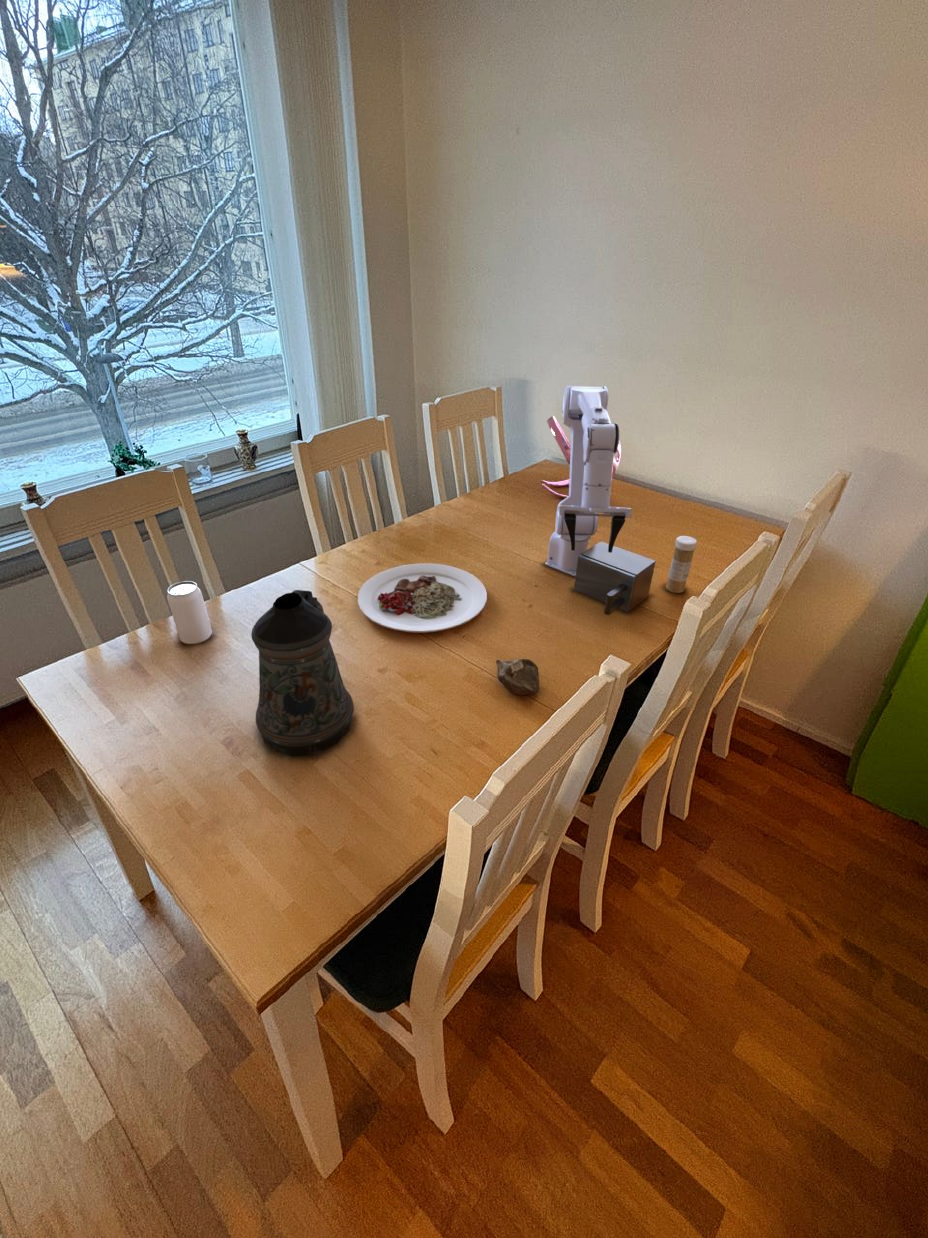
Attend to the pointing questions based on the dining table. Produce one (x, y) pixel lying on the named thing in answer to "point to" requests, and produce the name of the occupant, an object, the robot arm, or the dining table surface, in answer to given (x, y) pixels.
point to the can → (189, 612)
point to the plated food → (422, 597)
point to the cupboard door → (604, 584)
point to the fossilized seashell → (519, 676)
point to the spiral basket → (566, 451)
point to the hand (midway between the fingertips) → (591, 550)
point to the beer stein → (299, 678)
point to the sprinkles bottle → (681, 564)
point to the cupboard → (626, 567)
